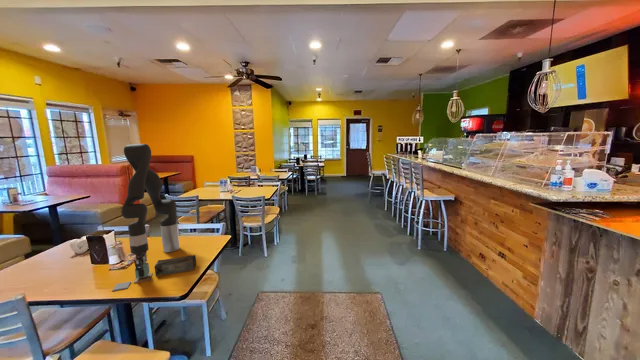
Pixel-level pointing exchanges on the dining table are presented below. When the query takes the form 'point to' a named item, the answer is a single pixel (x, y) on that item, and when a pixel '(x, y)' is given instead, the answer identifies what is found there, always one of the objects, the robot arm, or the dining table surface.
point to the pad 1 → (121, 286)
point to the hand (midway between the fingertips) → (142, 273)
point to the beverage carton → (175, 265)
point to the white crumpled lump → (79, 245)
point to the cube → (146, 270)
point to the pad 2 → (143, 278)
